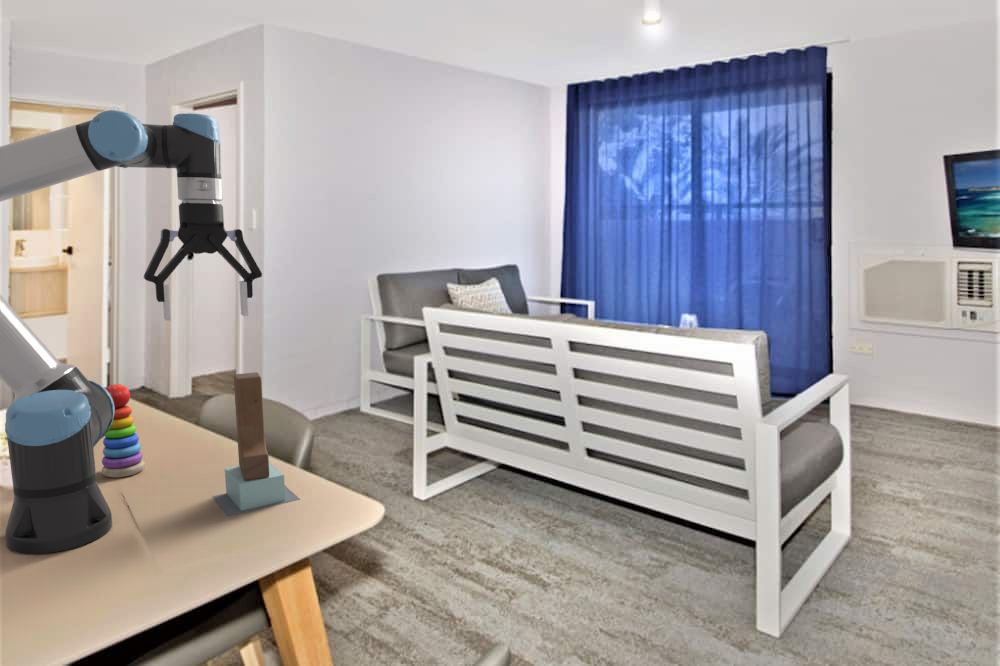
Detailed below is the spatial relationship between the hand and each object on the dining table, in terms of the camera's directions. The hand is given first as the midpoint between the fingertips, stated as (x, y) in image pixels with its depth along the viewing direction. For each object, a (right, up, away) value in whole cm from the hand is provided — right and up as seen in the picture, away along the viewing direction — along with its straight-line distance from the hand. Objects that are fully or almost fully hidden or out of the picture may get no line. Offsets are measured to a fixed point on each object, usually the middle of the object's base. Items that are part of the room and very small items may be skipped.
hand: (207, 317), depth 133 cm
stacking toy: (-24, -32, +15) cm, 43 cm away
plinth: (+9, -34, 0) cm, 35 cm away
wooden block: (+9, -29, -1) cm, 30 cm away
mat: (+9, -34, 0) cm, 36 cm away
